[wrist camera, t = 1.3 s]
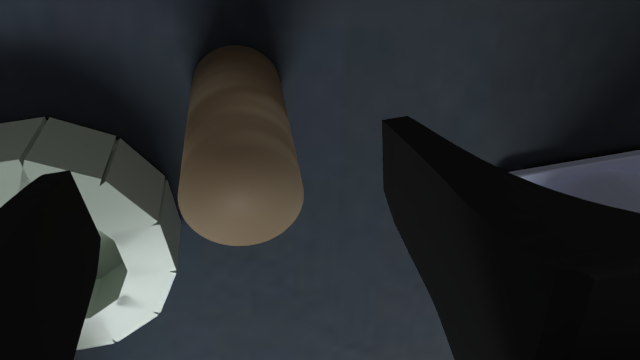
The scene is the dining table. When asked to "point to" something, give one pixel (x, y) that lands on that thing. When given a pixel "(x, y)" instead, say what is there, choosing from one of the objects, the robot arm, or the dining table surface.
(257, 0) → the dining table surface
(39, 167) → the sage green bowl
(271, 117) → the dowel
